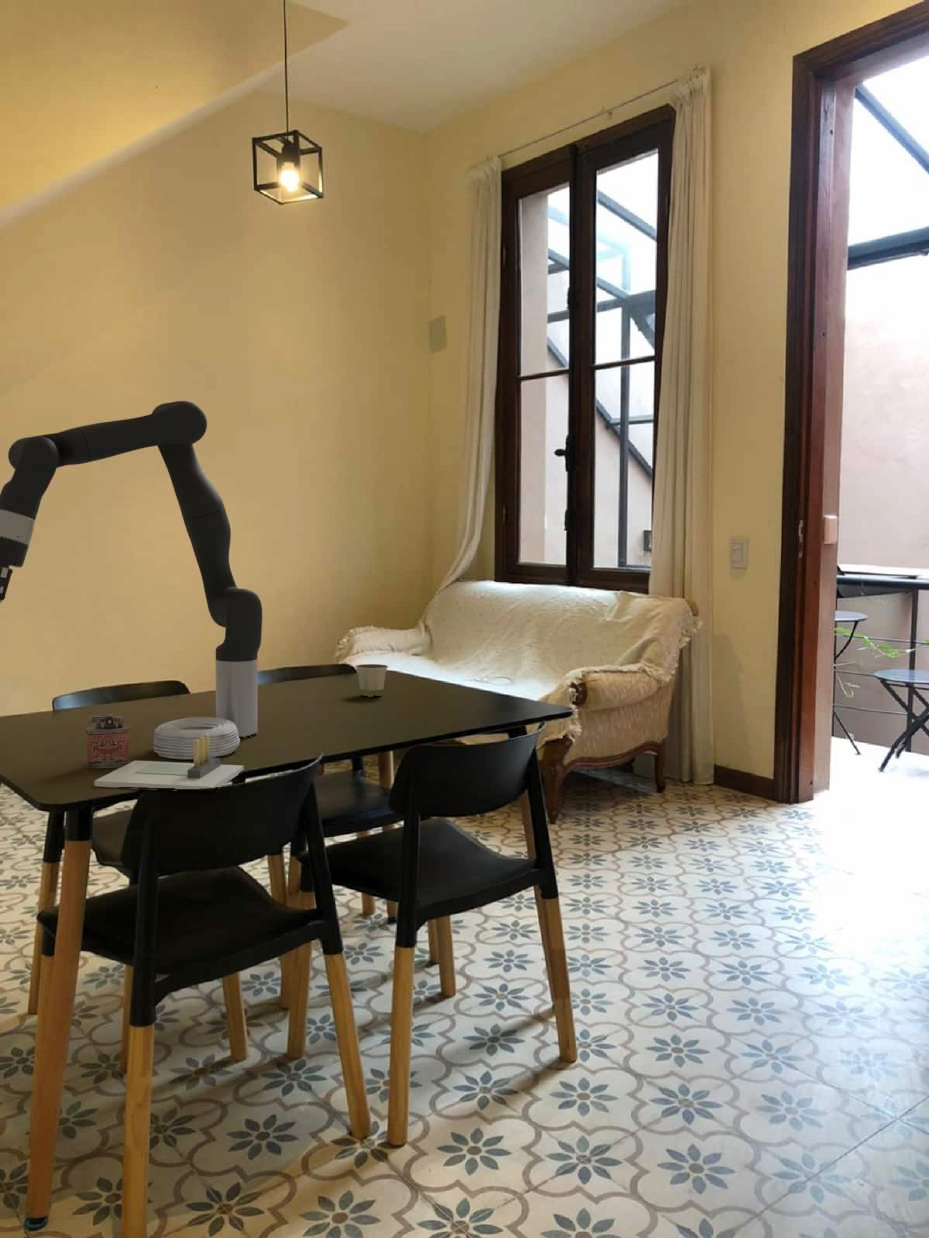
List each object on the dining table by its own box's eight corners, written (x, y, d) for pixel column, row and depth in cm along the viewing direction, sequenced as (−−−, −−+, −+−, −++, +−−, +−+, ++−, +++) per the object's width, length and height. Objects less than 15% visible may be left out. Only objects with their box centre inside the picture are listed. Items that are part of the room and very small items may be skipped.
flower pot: (354, 693, 280) (355, 663, 280) (387, 693, 281) (387, 663, 281) (354, 698, 271) (355, 668, 270) (388, 698, 272) (388, 668, 271)
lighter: (130, 762, 192) (129, 712, 191) (130, 766, 189) (129, 715, 188) (86, 764, 190) (85, 714, 189) (85, 768, 186) (84, 717, 186)
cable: (214, 740, 215) (214, 713, 215) (256, 754, 203) (256, 725, 202) (139, 751, 203) (138, 722, 203) (178, 766, 191) (178, 736, 190)
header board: (135, 765, 190) (134, 727, 189) (243, 770, 187) (243, 732, 187) (94, 786, 174) (93, 745, 173) (212, 792, 171) (212, 750, 171)
